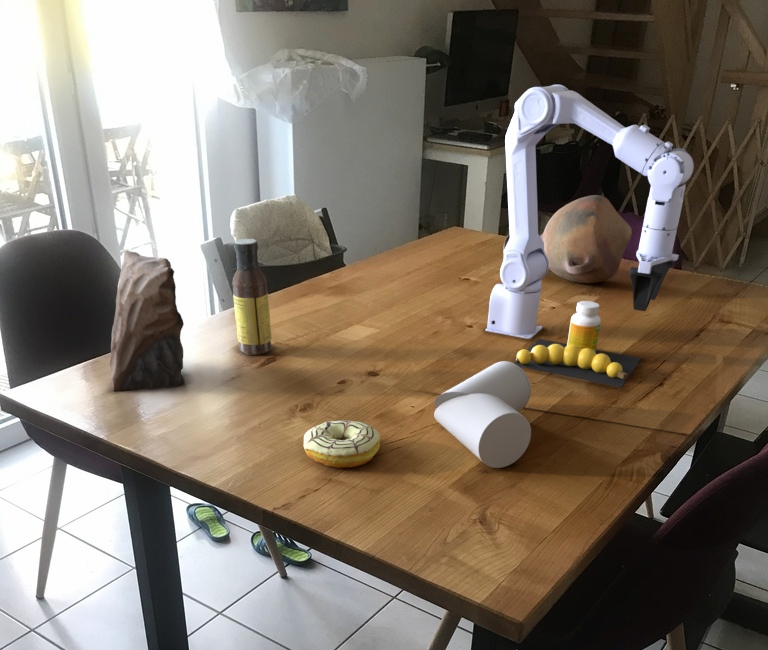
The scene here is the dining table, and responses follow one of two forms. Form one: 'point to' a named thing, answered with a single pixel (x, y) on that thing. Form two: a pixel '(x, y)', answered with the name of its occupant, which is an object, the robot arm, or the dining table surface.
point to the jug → (585, 240)
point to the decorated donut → (342, 443)
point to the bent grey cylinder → (489, 413)
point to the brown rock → (146, 326)
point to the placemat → (584, 374)
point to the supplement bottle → (585, 326)
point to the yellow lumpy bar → (571, 358)
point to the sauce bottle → (251, 300)
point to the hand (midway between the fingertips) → (644, 304)
